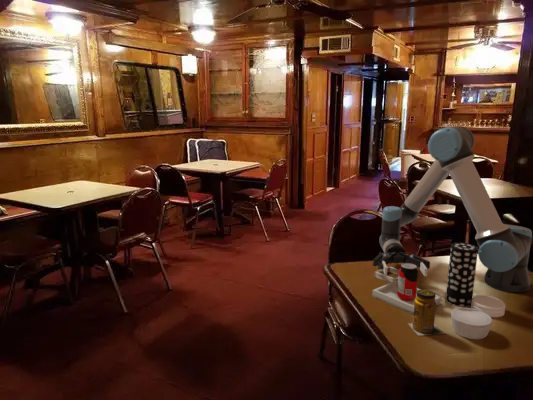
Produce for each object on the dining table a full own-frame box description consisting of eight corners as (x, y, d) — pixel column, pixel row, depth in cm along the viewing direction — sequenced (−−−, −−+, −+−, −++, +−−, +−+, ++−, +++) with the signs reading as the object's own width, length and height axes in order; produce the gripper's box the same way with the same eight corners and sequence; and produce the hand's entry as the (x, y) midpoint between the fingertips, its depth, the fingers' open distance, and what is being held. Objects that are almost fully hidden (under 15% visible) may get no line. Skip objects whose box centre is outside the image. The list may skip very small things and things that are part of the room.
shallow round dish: (505, 308, 139) (506, 298, 138) (503, 321, 131) (505, 311, 130) (472, 301, 144) (473, 292, 144) (468, 313, 136) (470, 303, 135)
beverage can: (417, 302, 141) (420, 269, 138) (398, 301, 142) (400, 268, 139) (413, 294, 147) (416, 262, 145) (395, 293, 148) (398, 261, 145)
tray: (440, 303, 142) (441, 297, 141) (417, 316, 134) (418, 309, 133) (395, 286, 156) (396, 280, 155) (372, 296, 147) (372, 290, 147)
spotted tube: (474, 307, 139) (481, 251, 135) (448, 305, 141) (454, 249, 137) (468, 296, 147) (474, 243, 143) (443, 294, 149) (448, 241, 144)
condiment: (407, 323, 129) (410, 288, 126) (433, 322, 130) (436, 286, 127) (417, 336, 122) (421, 298, 119) (445, 334, 123) (449, 297, 120)
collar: (410, 278, 163) (410, 273, 163) (394, 284, 157) (395, 279, 157) (388, 270, 171) (389, 266, 170) (373, 276, 165) (373, 271, 164)
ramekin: (481, 323, 129) (483, 308, 128) (497, 343, 118) (499, 326, 117) (444, 321, 130) (446, 306, 129) (456, 340, 120) (458, 324, 118)
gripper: (425, 261, 164) (441, 283, 144) (362, 259, 167) (369, 280, 147) (427, 243, 163) (443, 263, 142) (363, 241, 165) (370, 260, 145)
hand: (405, 272), depth 144 cm, fingers open, 13 cm apart
